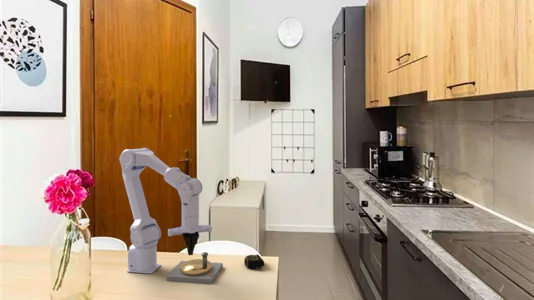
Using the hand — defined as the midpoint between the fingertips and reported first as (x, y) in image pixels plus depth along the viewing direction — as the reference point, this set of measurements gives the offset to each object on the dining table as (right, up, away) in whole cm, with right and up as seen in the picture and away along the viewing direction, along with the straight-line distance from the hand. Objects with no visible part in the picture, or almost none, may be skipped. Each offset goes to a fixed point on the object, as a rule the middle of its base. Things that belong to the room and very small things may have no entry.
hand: (190, 254), depth 122 cm
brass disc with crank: (+1, -7, +5) cm, 9 cm away
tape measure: (+22, -9, +13) cm, 26 cm away
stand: (+1, -8, +5) cm, 10 cm away
